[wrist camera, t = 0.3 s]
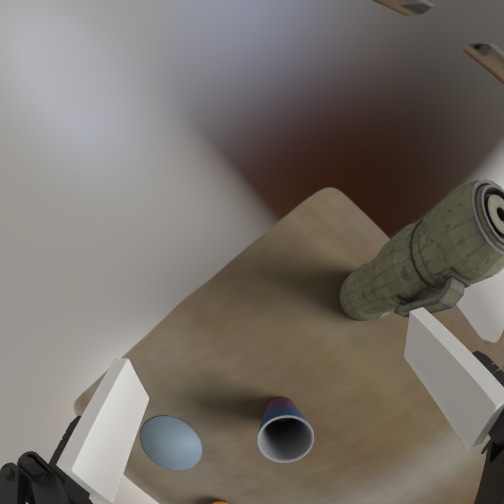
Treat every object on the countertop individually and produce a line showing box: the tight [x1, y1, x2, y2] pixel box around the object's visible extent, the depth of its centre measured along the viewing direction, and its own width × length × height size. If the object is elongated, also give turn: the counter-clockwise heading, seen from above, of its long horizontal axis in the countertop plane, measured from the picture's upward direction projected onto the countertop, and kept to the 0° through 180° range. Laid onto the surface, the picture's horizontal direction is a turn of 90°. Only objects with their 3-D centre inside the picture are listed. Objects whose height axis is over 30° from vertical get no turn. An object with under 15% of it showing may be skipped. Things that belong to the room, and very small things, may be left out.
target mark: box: [141, 416, 202, 471], centre depth 40 cm, size 12×12×1 cm
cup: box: [257, 397, 314, 463], centre depth 34 cm, size 7×7×15 cm
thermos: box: [339, 179, 504, 321], centre depth 30 cm, size 9×12×35 cm
